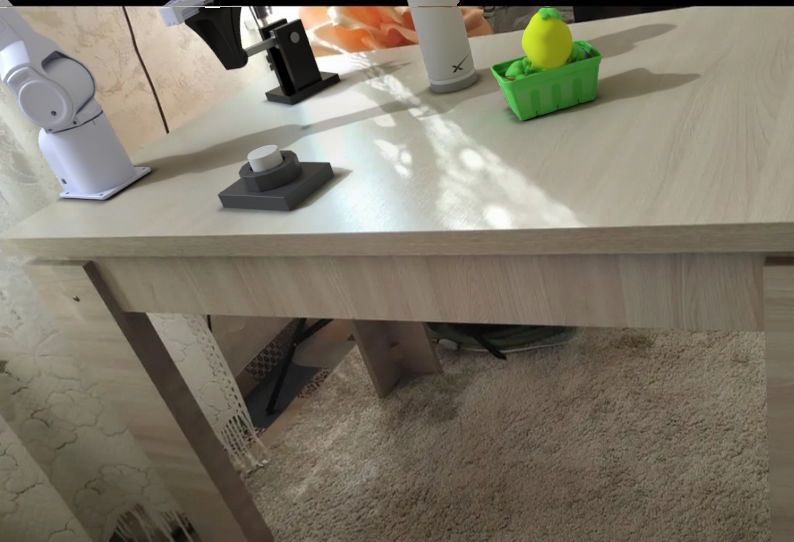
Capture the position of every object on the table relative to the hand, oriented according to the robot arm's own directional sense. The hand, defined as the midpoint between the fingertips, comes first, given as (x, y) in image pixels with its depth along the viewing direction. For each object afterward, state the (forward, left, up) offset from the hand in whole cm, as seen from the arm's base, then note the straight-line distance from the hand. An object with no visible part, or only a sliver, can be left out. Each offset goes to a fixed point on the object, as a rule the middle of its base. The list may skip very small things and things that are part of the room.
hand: (235, 67), depth 94 cm
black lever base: (-8, +18, -10) cm, 22 cm away
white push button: (+13, -12, -7) cm, 19 cm away
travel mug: (+19, +18, -10) cm, 28 cm away
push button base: (+13, -12, -10) cm, 20 cm away
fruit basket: (+37, +10, -10) cm, 39 cm away
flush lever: (-9, +14, -3) cm, 17 cm away
